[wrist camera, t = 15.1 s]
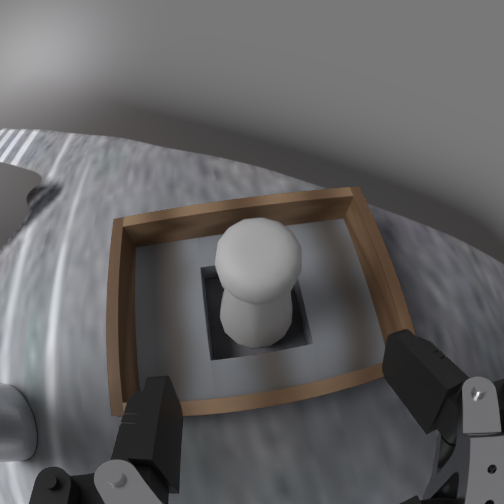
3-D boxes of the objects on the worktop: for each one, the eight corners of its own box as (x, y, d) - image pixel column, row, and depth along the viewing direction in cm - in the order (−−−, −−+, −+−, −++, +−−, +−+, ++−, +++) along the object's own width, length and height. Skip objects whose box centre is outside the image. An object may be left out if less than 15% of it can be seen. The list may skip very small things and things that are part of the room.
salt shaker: (227, 287, 26) (207, 193, 14) (289, 291, 26) (318, 201, 14) (219, 349, 23) (186, 301, 12) (287, 355, 23) (323, 312, 11)
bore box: (142, 413, 20) (111, 415, 15) (136, 252, 28) (113, 219, 22) (388, 371, 22) (422, 361, 16) (342, 223, 29) (359, 186, 24)
